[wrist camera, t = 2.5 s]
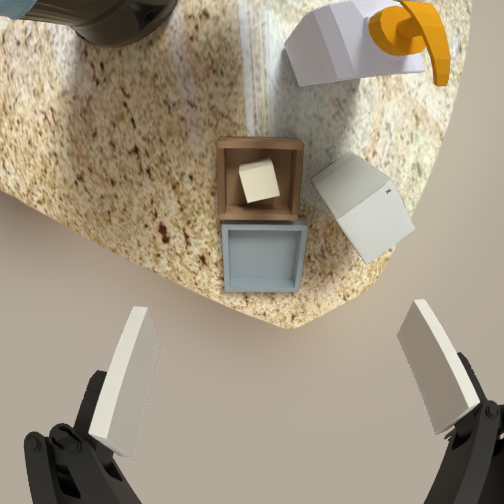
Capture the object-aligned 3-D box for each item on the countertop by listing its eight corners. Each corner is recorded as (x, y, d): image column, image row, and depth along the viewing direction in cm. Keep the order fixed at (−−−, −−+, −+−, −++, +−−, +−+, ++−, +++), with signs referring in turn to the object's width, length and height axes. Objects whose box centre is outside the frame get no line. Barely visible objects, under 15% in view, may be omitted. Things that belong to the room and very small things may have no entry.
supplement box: (308, 179, 36) (333, 219, 25) (350, 149, 33) (394, 176, 23) (335, 217, 39) (365, 267, 28) (374, 189, 36) (418, 230, 26)
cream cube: (247, 191, 36) (247, 202, 33) (239, 164, 34) (238, 172, 31) (276, 185, 36) (279, 195, 32) (270, 156, 34) (272, 164, 30)
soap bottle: (299, 92, 29) (384, 92, 10) (282, 44, 26) (338, -30, 6) (363, 80, 28) (493, 87, 9) (347, 33, 24) (464, -12, 5)
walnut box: (221, 207, 38) (219, 219, 34) (220, 136, 33) (216, 141, 29) (292, 208, 38) (297, 220, 35) (298, 138, 33) (304, 143, 29)
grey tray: (226, 279, 45) (224, 291, 42) (223, 215, 39) (221, 224, 36) (296, 279, 45) (299, 291, 42) (304, 216, 39) (308, 225, 36)
